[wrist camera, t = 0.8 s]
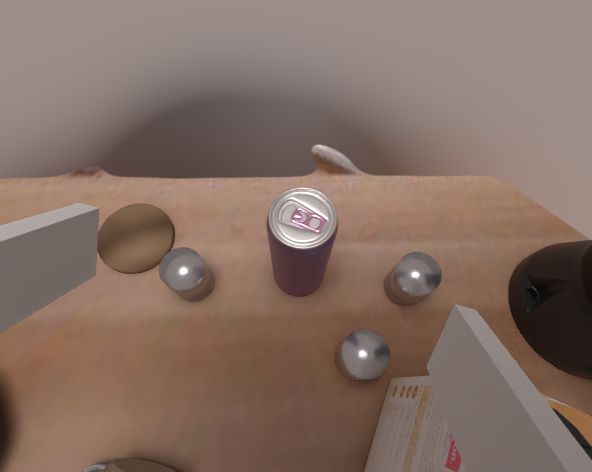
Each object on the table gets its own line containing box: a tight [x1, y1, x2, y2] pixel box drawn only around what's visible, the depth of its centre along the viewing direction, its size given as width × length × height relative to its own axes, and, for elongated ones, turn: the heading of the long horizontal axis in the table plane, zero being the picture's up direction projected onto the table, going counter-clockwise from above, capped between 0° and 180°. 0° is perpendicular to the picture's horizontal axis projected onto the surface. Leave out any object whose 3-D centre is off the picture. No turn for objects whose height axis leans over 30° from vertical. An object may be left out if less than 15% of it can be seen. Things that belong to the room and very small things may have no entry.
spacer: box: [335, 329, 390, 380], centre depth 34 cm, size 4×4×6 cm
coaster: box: [97, 204, 175, 274], centre depth 42 cm, size 9×9×1 cm
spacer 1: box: [159, 247, 214, 302], centre depth 38 cm, size 4×4×6 cm
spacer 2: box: [384, 252, 441, 306], centre depth 38 cm, size 4×4×6 cm
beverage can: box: [267, 187, 338, 296], centre depth 34 cm, size 6×6×15 cm
